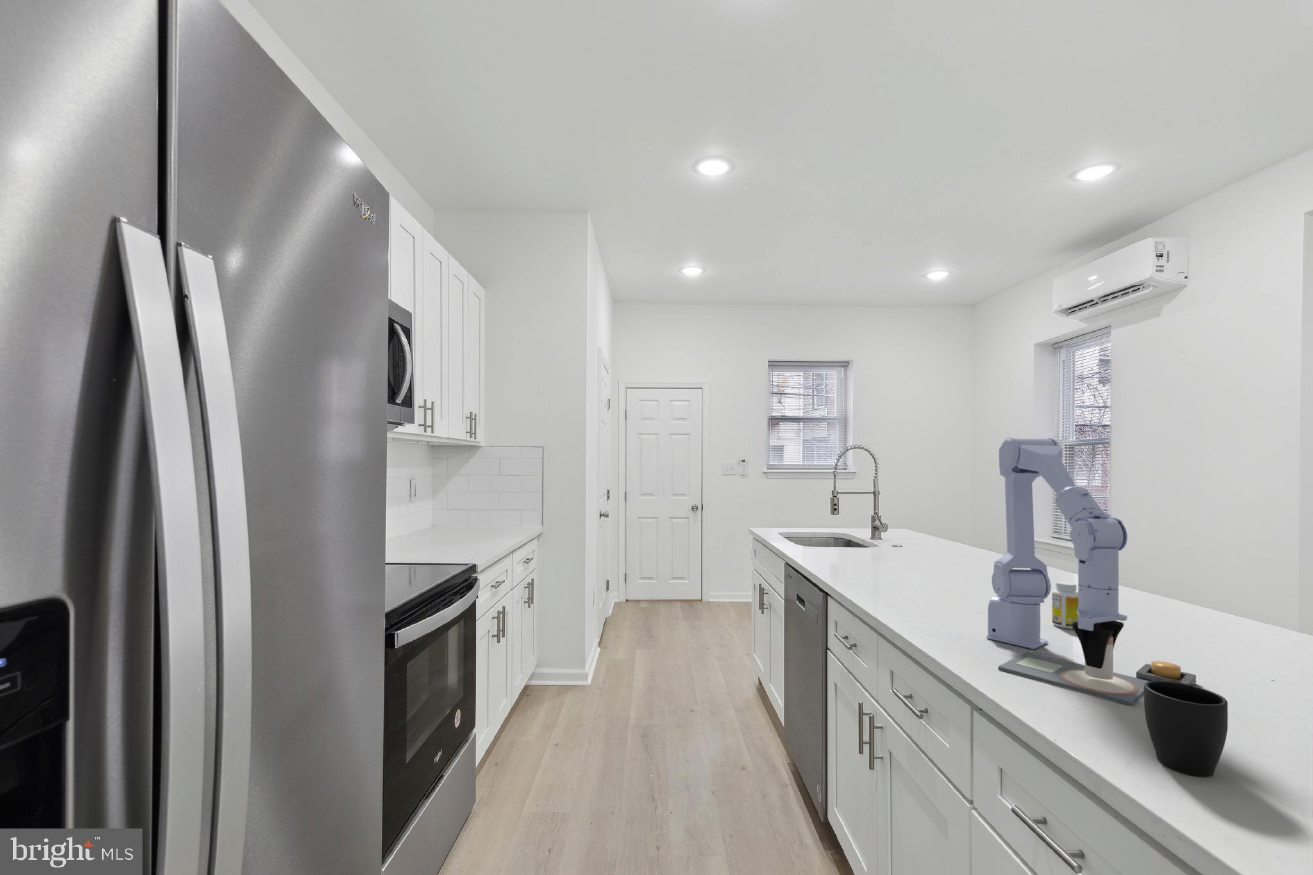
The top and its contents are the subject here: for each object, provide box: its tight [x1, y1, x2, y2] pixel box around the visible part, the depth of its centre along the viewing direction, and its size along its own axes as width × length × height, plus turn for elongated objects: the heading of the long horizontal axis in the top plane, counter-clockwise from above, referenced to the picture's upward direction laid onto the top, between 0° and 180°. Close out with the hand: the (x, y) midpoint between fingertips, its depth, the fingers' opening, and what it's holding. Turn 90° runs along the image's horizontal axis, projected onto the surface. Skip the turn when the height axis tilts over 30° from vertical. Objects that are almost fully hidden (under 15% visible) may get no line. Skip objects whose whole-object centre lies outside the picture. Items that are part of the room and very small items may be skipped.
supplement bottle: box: [1051, 580, 1079, 630], centre depth 141 cm, size 6×6×10 cm
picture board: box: [997, 651, 1149, 707], centre depth 109 cm, size 20×14×1 cm
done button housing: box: [1135, 663, 1197, 686], centre depth 107 cm, size 7×7×2 cm
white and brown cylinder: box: [1084, 636, 1114, 680], centre depth 105 cm, size 4×4×7 cm
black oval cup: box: [1143, 680, 1229, 778], centre depth 79 cm, size 8×12×10 cm
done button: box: [1150, 660, 1182, 679], centre depth 107 cm, size 4×4×2 cm
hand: (1098, 664), depth 105 cm, fingers closed on white and brown cylinder, 4 cm apart
